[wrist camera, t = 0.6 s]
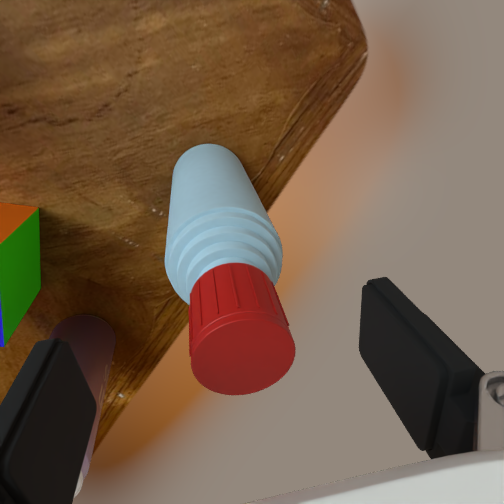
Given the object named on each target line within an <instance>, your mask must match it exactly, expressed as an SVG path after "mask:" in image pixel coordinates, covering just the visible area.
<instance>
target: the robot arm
mask: <svg viewBox="0 0 504 504" xmlns="http://www.w3.org/2000/svg"><path fill="white" fill-rule="evenodd" d="M359 351H360V354H361V357H362V358H363V360H364V362H365V363H366V365H367V367H368V368H369V369H370V371H371V373H372V374H373V376H374V378H375V379H376V381H377V383H378V384H379V386H380V387H381V389H382V391H383V392H384V394H385V395H386V397H387V399H388V400H389V402H390V403H391V405H392V407H393V408H394V410H395V412H396V413H397V415H398V416H399V418H400V420H401V421H402V423H403V424H404V426H405V428H406V429H407V431H408V432H409V434H410V436H411V437H412V439H413V440H414V442H415V444H416V445H417V447H418V448H419V449H420V450H422V451H424V450H426V452H427V454H428V455H429V457H430V458H431V460H426V461H422V462H417V463H412V464H408V465H404V466H399V467H394V468H390V469H386V470H381V471H377V472H373V473H369V474H365V475H360V476H356V477H352V478H348V479H344V480H340V481H335V482H331V483H328V484H323V485H319V486H314V487H311V488H306V489H302V490H298V491H294V492H290V493H286V494H282V495H277V496H274V497H269V498H265V499H261V500H257V501H253V502H249V503H245V504H504V371H493V372H489V373H486V374H485V373H484V372H483V371H482V370H481V369H480V368H479V367H478V366H477V365H476V364H475V363H474V362H473V361H472V360H471V359H470V358H469V357H468V356H467V355H466V354H465V353H464V352H463V351H462V350H461V349H460V348H459V347H458V346H457V345H456V344H455V343H454V342H453V341H452V340H451V339H450V338H449V337H448V336H447V335H446V334H445V333H444V332H443V331H441V329H440V328H439V327H438V326H437V325H436V324H435V323H434V322H433V321H432V320H431V319H430V318H429V317H428V316H427V315H425V314H424V313H422V312H421V311H420V310H419V309H418V308H417V307H416V306H415V305H414V304H413V303H412V302H411V301H410V300H409V299H408V298H407V297H406V296H405V295H404V294H403V293H402V292H401V291H400V290H399V289H398V288H397V287H396V286H395V285H394V284H393V283H392V282H391V281H390V280H389V279H388V278H387V277H382V278H378V279H372V280H368V282H367V285H364V286H363V288H362V302H361V319H360V337H359ZM96 412H97V404H96V400H95V398H94V396H93V394H92V392H91V390H90V387H89V385H88V383H87V381H86V379H85V377H84V375H83V372H82V370H81V368H80V366H79V364H78V362H77V360H76V357H75V355H74V353H73V351H72V349H71V347H70V345H69V343H68V342H67V341H64V342H63V341H62V340H61V339H60V338H53V339H48V340H43V341H38V342H37V343H36V344H35V345H34V347H33V349H32V350H31V352H30V354H29V356H28V357H27V359H26V361H25V363H24V365H23V366H22V368H21V370H20V372H19V373H18V375H17V377H16V379H15V380H14V382H13V384H12V386H11V387H10V389H9V391H8V393H7V395H6V396H5V398H4V400H3V402H2V403H1V405H0V504H72V502H73V498H74V494H75V491H76V487H77V483H78V479H79V476H80V472H81V468H82V465H83V461H84V457H85V453H86V450H87V446H88V442H89V439H90V435H91V431H92V427H93V424H94V420H95V416H96Z"/></svg>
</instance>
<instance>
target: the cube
mask: <svg viewBox="0 0 504 504" xmlns="http://www.w3.org/2000/svg"><path fill="white" fill-rule="evenodd" d="M40 289H41V271H40V229H39V207H32V206H24V205H16V204H9V203H1V202H0V347H5V345H6V343H7V342H8V340H9V339H10V337H11V335H12V334H13V332H14V331H15V329H16V328H17V326H18V324H19V323H20V321H21V320H22V318H23V316H24V315H25V313H26V312H27V310H28V309H29V307H30V305H31V304H32V302H33V301H34V299H35V297H36V296H37V294H38V293H39V291H40Z"/></svg>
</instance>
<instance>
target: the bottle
mask: <svg viewBox="0 0 504 504" xmlns="http://www.w3.org/2000/svg"><path fill="white" fill-rule="evenodd" d="M282 257H283V256H282V245H281V241H280V238H279V236H278V234H277V232H276V230H275V229H274V226H273V224H272V222H271V220H270V218H269V216H268V214H267V213H266V211H265V209H264V207H263V205H262V203H261V201H260V199H259V197H258V195H257V193H256V191H255V189H254V187H253V185H252V183H251V181H250V179H249V178H248V176H247V174H246V172H245V170H244V168H243V166H242V164H241V162H240V160H239V159H238V158H237V156H236V155H235V154H234V153H232V152H231V151H230V150H228V149H227V148H225V147H222V146H219V145H215V144H202V145H198V146H195V147H193V148H191V149H189V150H188V151H186V152H185V153H184V154H183V155H182V156H181V157H180V158H179V160H178V161H177V163H176V165H175V168H174V171H173V179H172V189H171V200H170V210H169V220H168V231H167V241H166V251H165V268H166V273H167V275H168V278H169V280H170V282H171V284H172V286H173V288H174V289H175V291H176V292H177V294H178V295H179V296H180V297H181V298H182V299H183V300H184V301H185V302H186V303H188V304H189V305H190V293H191V290H192V288H193V286H194V284H195V283H196V281H197V280H198V279H199V278H200V277H201V276H202V275H203V274H204V273H205V272H207V271H208V270H210V269H212V268H214V267H216V266H218V265H222V264H226V263H237V262H238V263H245V264H249V265H252V266H255V267H257V268H259V269H260V270H262V271H263V272H264V273H265V274H266V275H267V276H268V277H269V279H270V281H272V282H273V284H274V286H275V284H276V283H277V281H278V279H279V276H280V273H281V267H282Z"/></svg>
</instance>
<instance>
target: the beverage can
mask: <svg viewBox="0 0 504 504" xmlns="http://www.w3.org/2000/svg"><path fill="white" fill-rule="evenodd" d="M53 338H60V339H61V340H62V341H63V342H64V341H67V342H68V343H69V345H70V347H71V349H72V351H73V353H74V355H75V357H76V360H77V362H78V364H79V366H80V368H81V370H82V372H83V375H84V377H85V379H86V381H87V383H88V385H89V387H90V390H91V392H92V394H93V396H94V398H95V400H96V404H97V412H96V416H95V420H94V424H93V427H92V431H91V435H90V439H89V442H88V446H87V450H86V453H85V457H84V461H83V465H82V468H81V472H80V476H79V479H78V483H77V487H76V491H75V494H74V497H75V496H76V495H77V494H78V493H79V491H80V490H81V487H82V484H83V480H84V478H85V477H86V475H87V473H88V470H89V466H90V461H91V456H92V452H93V447H94V442H95V437H96V433H97V428H98V423H99V419H100V414H101V409H102V405H103V400H104V395H105V391H106V386H107V381H108V376H109V372H110V367H111V362H112V358H113V353H114V348H115V344H116V336H115V333H114V331H113V329H112V328H111V326H110V325H109V324H108V323H107V322H106V321H104V320H103V319H101V318H99V317H96V316H93V315H76V316H72V317H69V318H67V319H65V320H63V321H61V322H60V323H59V324H58V325H57V326H56V327H55V328H54V330H53V331H52V334H51V336H50V338H49V339H53Z"/></svg>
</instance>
